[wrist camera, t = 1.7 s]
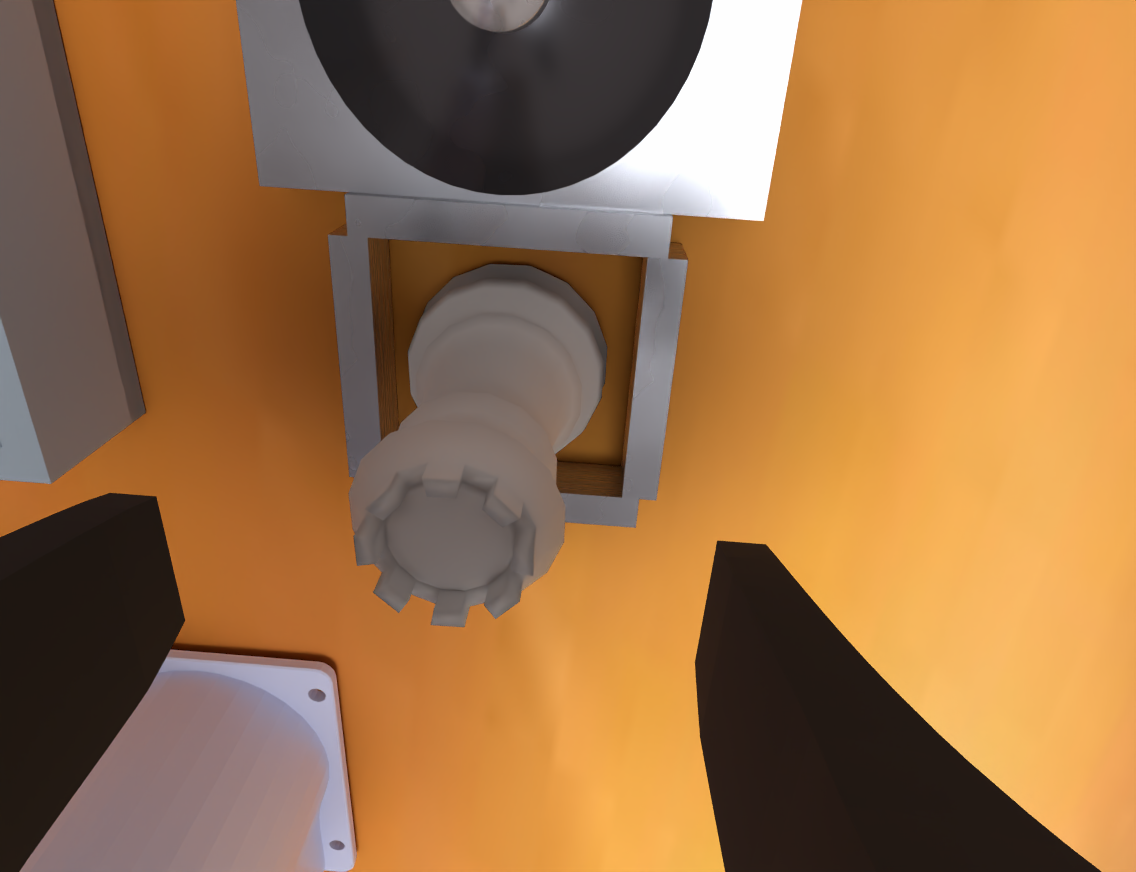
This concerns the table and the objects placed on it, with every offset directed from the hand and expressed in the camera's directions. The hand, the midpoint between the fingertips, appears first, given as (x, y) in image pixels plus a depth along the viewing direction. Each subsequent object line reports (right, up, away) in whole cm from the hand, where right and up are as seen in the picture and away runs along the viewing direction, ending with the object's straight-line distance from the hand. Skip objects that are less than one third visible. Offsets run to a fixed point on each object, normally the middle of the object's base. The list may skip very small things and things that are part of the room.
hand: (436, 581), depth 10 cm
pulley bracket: (+1, +7, +6) cm, 9 cm away
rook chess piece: (0, +4, +8) cm, 9 cm away
